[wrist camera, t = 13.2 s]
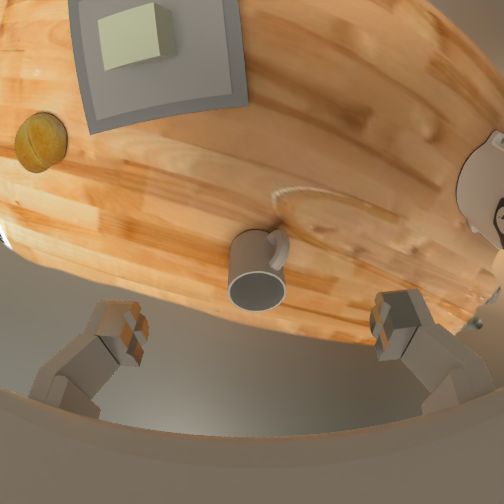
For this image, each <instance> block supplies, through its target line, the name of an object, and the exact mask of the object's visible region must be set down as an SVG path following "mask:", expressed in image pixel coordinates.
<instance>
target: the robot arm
mask: <svg viewBox="0 0 504 504" xmlns="http://www.w3.org/2000/svg"><path fill="white" fill-rule="evenodd" d="M457 203H458V207H459V209H460V211H461V213H462V214H463V215H464V216H465V217H466V219H467V220H468V225H469V229H470V230H471V231H472V232H473V233H478V232H480V233H481V234H482V235H483V236H484V237H485V238H486V239H487V240H488V241H489V242H491V243H492V244H493V245H494V246H495V247H496V248H497V249H499V250H500V249H504V133H502V132H500V131H498V130H495V131H494V132H493V133H492V134H491V136H490V137H489V139H488V140H487V142H486V143H485V144H484V145H482V146H481V147H479V148H478V149H477V150H476V151H474V153H473V154H472V155H471V156H470V157H469V159H468V160H467V162H466V163H465V165H464V167H463V169H462V171H461V174H460V177H459V180H458V185H457ZM375 303H376V306H375V307H374V308H372V310H371V313H370V329H371V333H372V335H373V336H374V337H375V338H376V339H377V341H376V344H375V348H376V351H377V355H378V359H379V361H384V360H392V359H399V358H401V360H402V362H403V363H404V364H405V365H406V366H407V367H408V368H409V369H410V370H411V371H412V372H413V374H414V375H415V376H416V377H417V378H418V379H419V380H420V381H421V382H422V383H423V385H425V387H426V388H427V389H428V390H429V391H430V392H431V394H430V395H429V397H427V398H426V400H425V401H424V402H423V403H422V405H421V407H422V412H423V415H422V416H418V417H414V418H410V419H406V420H402V421H398V422H393V423H389V424H384V425H378V426H373V427H367V428H361V429H355V430H349V431H341V432H333V433H325V434H315V435H302V436H287V437H286V436H285V437H220V436H204V435H191V434H181V433H172V432H164V431H157V430H150V429H144V428H138V427H133V426H127V425H122V424H117V423H112V422H108V421H103V420H99V415H100V411H101V410H100V408H99V407H98V406H97V405H96V404H95V403H94V402H93V401H91V399H92V398H93V397H94V396H95V394H96V393H97V392H98V391H99V390H100V389H101V388H102V386H103V385H104V384H105V383H106V382H107V381H108V380H109V378H110V377H111V376H112V375H113V374H114V372H115V371H116V370H117V369H118V368H119V367H120V365H124V366H137V367H140V364H141V360H142V357H143V353H144V351H143V348H142V345H143V344H145V343H146V342H147V339H148V335H149V325H148V321H147V319H146V317H145V316H144V315H142V314H141V313H140V311H141V307H140V305H139V303H138V302H135V301H115V300H114V301H113V300H100V301H99V302H98V303H97V304H96V306H95V308H94V311H93V313H92V315H91V317H90V319H89V322H88V324H87V326H86V328H85V331H84V333H83V334H79V335H78V336H77V337H76V338H75V339H73V340H72V341H71V342H70V343H69V344H67V345H66V346H65V347H64V348H63V349H62V350H60V351H59V352H58V353H57V354H56V355H55V356H53V357H52V358H51V359H50V360H49V361H48V362H47V363H45V364H44V365H43V366H42V367H41V368H40V369H39V370H38V373H37V375H36V378H35V380H34V383H33V385H32V388H31V390H30V393H29V396H28V397H25V396H22V395H20V394H17V393H15V392H12V391H10V390H7V389H5V388H3V387H1V386H0V504H504V387H502V388H500V389H498V390H495V388H494V386H493V382H492V380H491V377H490V374H489V372H488V369H487V367H486V364H485V362H484V360H483V359H482V358H481V357H480V356H478V355H477V354H476V353H475V352H474V351H472V350H471V349H470V348H469V347H467V346H466V345H465V344H464V343H462V342H461V341H460V340H459V339H458V338H456V337H455V336H454V335H453V334H451V333H450V332H449V331H448V330H446V329H445V328H444V327H442V326H441V325H440V324H435V322H434V320H433V318H432V316H431V313H430V311H429V309H428V307H427V305H426V303H425V301H424V299H423V296H422V294H421V292H420V290H418V289H417V288H416V289H407V290H397V291H387V292H378V293H377V295H376V297H375Z"/></svg>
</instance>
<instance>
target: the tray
mask: <svg viewBox="0 0 504 504" xmlns="http://www.w3.org/2000/svg"><path fill="white" fill-rule="evenodd" d="M153 2H154V3H156V4H158V5H160V6H162V7H164V8H166V9H167V10H169V11H171V14H172V23H173V31H174V39H175V47H176V56H171V57H166V58H162V59H157V60H153V61H149V62H145V63H141V64H137V65H133V66H130V67H124V68H118V69H113V70H107V71H105V70H104V64H103V57H102V51H101V44H100V36H99V28H98V20H100V19H102V18H105V17H108V16H111V15H113V14H116V13H119V12H122V11H125V10H128V9H132V8H135V7H138V6H142V5H145V4H149V3H153ZM68 8H69V20H70V29H71V38H72V46H73V53H74V59H75V65H76V71H77V77H78V83H79V88H80V93H81V98H82V102H83V107H84V111H85V116H86V120H87V124H88V128H89V132H90V135H92V134H96V133H100V132H103V131H107V130H111V129H115V128H119V127H123V126H127V125H131V124H135V123H140V122H145V121H149V120H154V119H159V118H164V117H170V116H176V115H181V114H188V113H194V112H201V111H208V110H216V109H224V108H234V107H244V106H249V103H248V92H247V81H246V71H245V60H244V50H243V40H242V30H241V21H240V11H239V1H238V0H68Z"/></svg>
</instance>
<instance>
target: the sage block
mask: <svg viewBox="0 0 504 504" xmlns="http://www.w3.org/2000/svg"><path fill="white" fill-rule="evenodd" d="M98 28H99V36H100V44H101V51H102V57H103V64H104V70H105V71H107V70H113V69H118V68H124V67H130V66H133V65H137V64H141V63H145V62H149V61H153V60H157V59H162V58H166V57H171V56H176V47H175V39H174V31H173V23H172V14H171V11H169V10H167V9H166V8H164V7H162V6H160V5H158V4H156V3H154V2H153V3H149V4H145V5H142V6H138V7H135V8H132V9H128V10H125V11H122V12H119V13H116V14H113V15H111V16H108V17H105V18H102V19H100V20H98Z"/></svg>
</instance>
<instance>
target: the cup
mask: <svg viewBox="0 0 504 504" xmlns="http://www.w3.org/2000/svg"><path fill="white" fill-rule="evenodd" d="M289 244H290V243H289V239H288V237H287V235H286V234H285V232H284V231H282V230H274V231H272V232H271V233H267V232H265V231H261V230H250V231H246V232H244V233H242V234H240V235H238V236H237V237H236V238H235V239H234V241H233V242H232V244H231V249H230V258H229V275H228V297H229V299H230V301H231V302H232V303H233V304H234V305H235V306H236V307H238V308H240V309H242V310H245V311H249V312H263V311H268V310H270V309H273V308H275V307H276V306H278V305H279V304H280V303H281V302H282V301H283V300H284V298H285V296H286V283H285V276H284V270H283V265H284V263H285V262H286V259H287V257H288V254H289Z"/></svg>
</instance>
